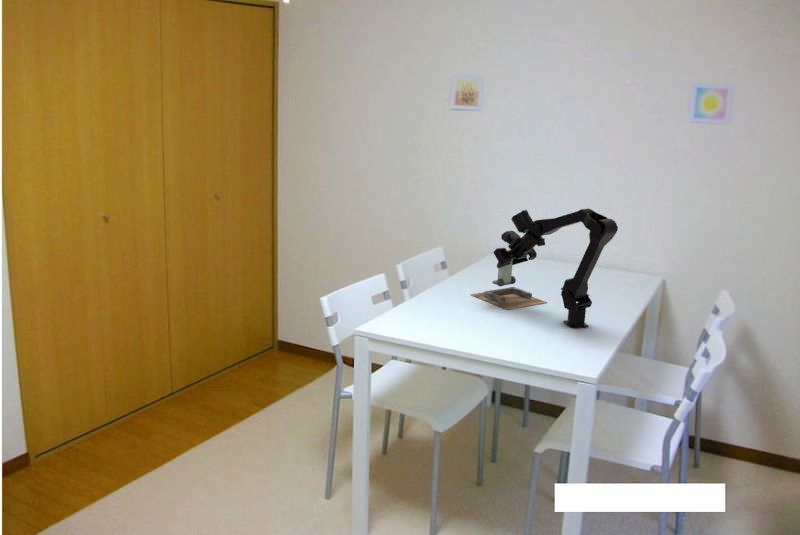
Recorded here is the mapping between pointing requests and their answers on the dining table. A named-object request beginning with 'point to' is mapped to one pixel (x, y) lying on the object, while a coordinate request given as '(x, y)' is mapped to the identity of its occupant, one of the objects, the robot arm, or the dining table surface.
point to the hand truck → (505, 275)
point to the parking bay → (509, 298)
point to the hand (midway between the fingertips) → (502, 266)
